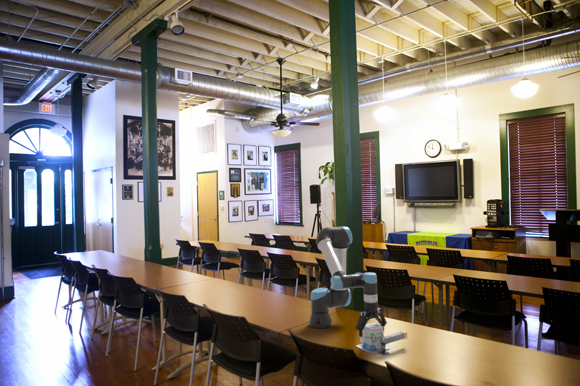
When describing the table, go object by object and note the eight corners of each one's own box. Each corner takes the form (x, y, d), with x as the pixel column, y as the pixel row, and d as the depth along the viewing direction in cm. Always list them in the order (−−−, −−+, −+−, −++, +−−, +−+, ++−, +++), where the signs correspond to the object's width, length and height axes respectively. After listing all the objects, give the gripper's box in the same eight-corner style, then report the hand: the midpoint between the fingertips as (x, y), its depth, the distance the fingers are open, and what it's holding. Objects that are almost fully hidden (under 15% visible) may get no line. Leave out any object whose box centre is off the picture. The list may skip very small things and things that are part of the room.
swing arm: (383, 345, 203) (383, 339, 204) (379, 343, 206) (379, 337, 206) (407, 338, 213) (407, 332, 213) (403, 336, 216) (403, 330, 216)
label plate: (355, 346, 216) (355, 345, 216) (373, 341, 222) (373, 340, 222) (371, 354, 204) (371, 353, 204) (389, 349, 211) (389, 347, 211)
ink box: (369, 350, 208) (369, 328, 208) (362, 345, 216) (361, 324, 216) (383, 348, 211) (382, 326, 211) (375, 342, 219) (374, 322, 219)
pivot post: (378, 352, 206) (377, 343, 206) (383, 351, 208) (383, 342, 208) (383, 355, 203) (383, 346, 203) (389, 353, 205) (388, 344, 205)
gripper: (357, 306, 205) (358, 346, 204) (392, 299, 217) (393, 337, 216) (348, 303, 211) (349, 342, 211) (383, 296, 223) (384, 333, 223)
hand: (372, 340), depth 213 cm, fingers open, 13 cm apart
